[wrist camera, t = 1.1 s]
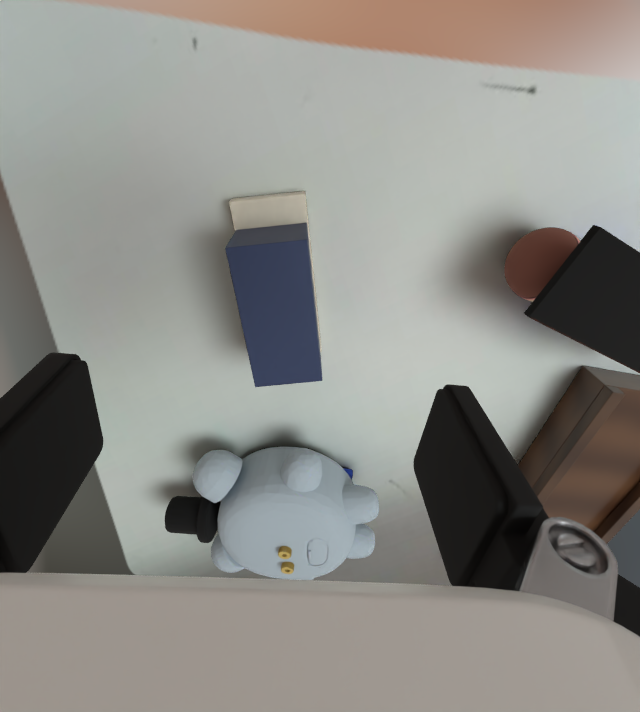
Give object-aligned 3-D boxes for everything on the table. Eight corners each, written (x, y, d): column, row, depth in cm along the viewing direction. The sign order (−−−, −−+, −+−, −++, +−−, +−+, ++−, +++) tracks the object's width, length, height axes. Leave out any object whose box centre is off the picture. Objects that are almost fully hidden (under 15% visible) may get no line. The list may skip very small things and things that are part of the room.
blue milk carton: (231, 198, 27) (216, 215, 22) (305, 190, 26) (305, 206, 22) (261, 350, 33) (254, 389, 28) (321, 344, 33) (324, 383, 28)
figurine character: (661, 274, 32) (531, 195, 27) (759, 319, 26) (614, 227, 21) (599, 340, 35) (471, 280, 30) (674, 394, 29) (528, 330, 24)
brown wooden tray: (582, 365, 35) (613, 392, 31) (692, 384, 36) (732, 412, 33) (460, 552, 49) (472, 585, 45) (543, 560, 50) (561, 592, 47)
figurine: (381, 423, 37) (172, 413, 38) (388, 498, 29) (130, 483, 31) (369, 537, 46) (200, 526, 47) (372, 617, 38) (173, 601, 40)
